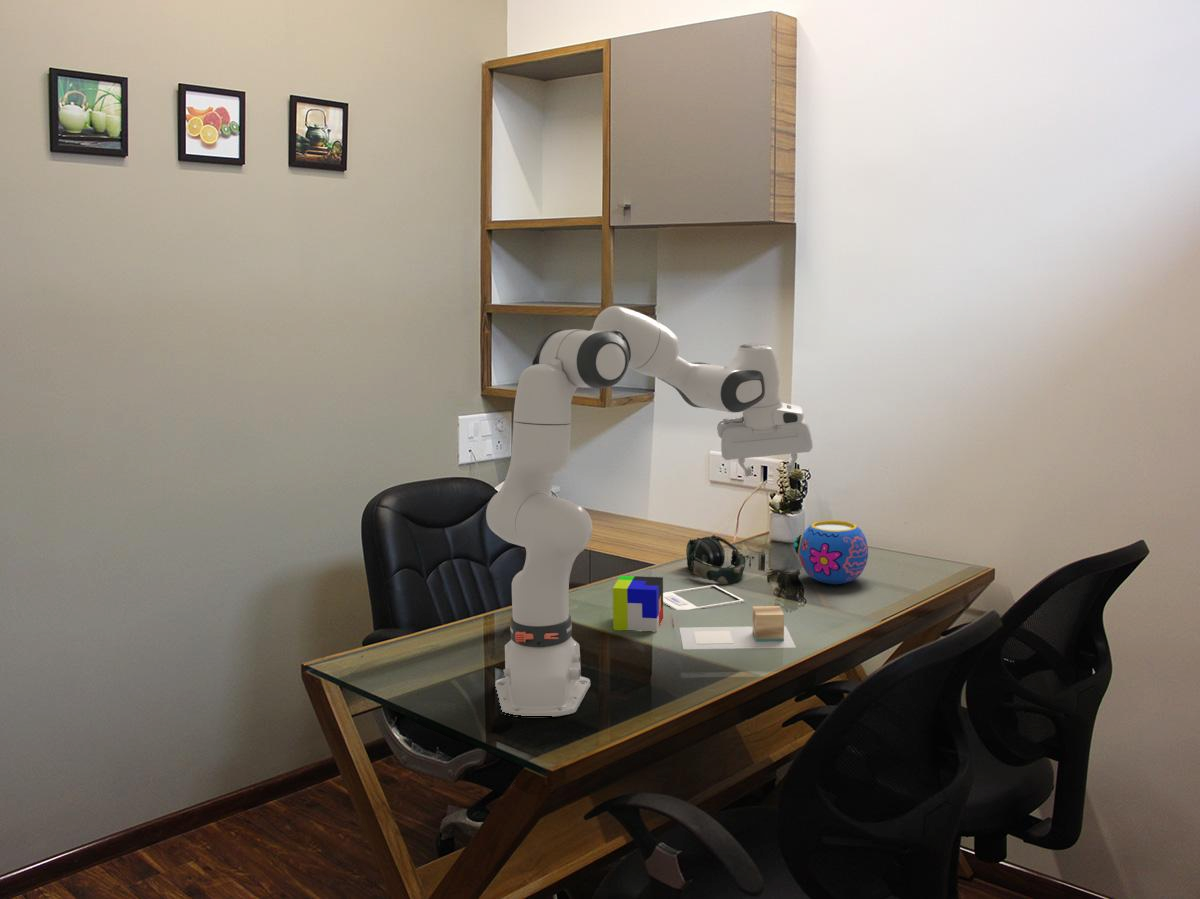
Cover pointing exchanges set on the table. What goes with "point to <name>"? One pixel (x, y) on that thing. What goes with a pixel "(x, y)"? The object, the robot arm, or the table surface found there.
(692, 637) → the grey board
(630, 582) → the puzzle toy
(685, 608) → the photo frame
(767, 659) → the table surface
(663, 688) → the table surface
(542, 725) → the table surface
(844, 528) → the ceramic pot
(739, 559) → the headphones
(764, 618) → the wood cube
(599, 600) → the table surface
